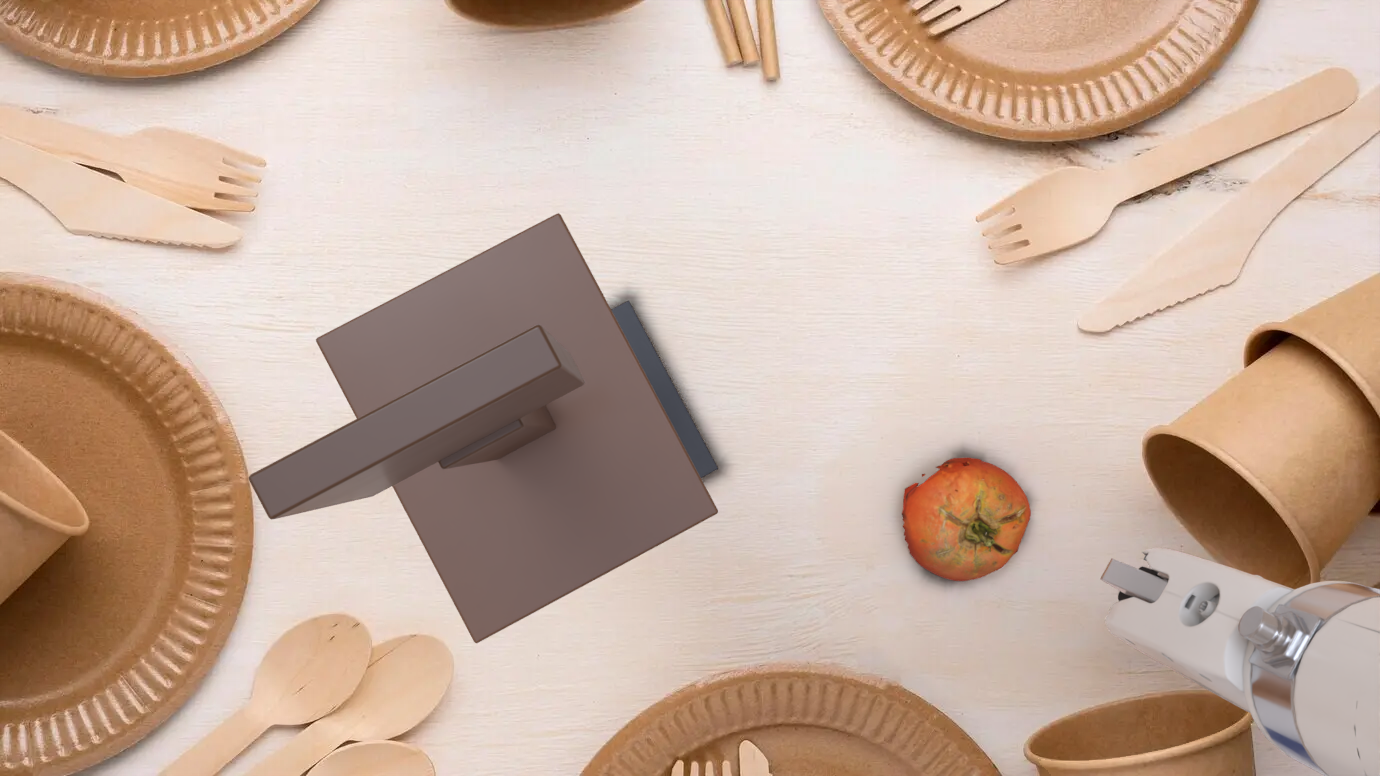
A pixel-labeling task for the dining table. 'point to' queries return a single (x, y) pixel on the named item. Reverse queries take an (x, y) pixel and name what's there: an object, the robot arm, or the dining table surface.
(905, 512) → the tomato
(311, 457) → the stand
